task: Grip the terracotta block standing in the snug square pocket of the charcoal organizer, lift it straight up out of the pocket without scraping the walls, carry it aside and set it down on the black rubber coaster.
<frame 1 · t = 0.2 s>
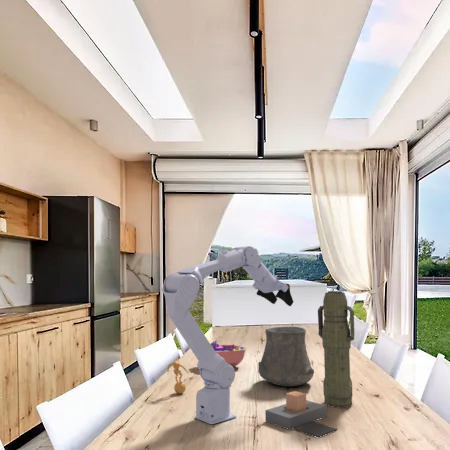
hand: (283, 302, 150), 31 cm above the table, tool tilted 45°, fingers open, 7 cm apart
cell model: (223, 368, 194), on the table
thermos: (337, 403, 142), on the table
vessel: (288, 384, 166), on the table
coaster: (315, 429, 119), on the table
figurine: (178, 394, 153), on the table
terracotta block: (296, 419, 128), resting in organizer
organizer: (296, 418, 128), on the table
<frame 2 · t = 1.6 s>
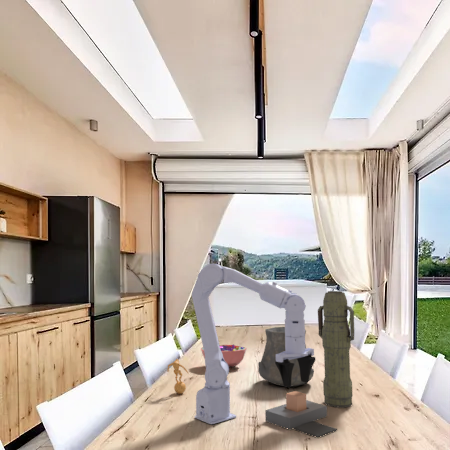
hand: (296, 384, 129), 10 cm above the table, tool pointing down, fingers open, 7 cm apart
nothing on the table moved.
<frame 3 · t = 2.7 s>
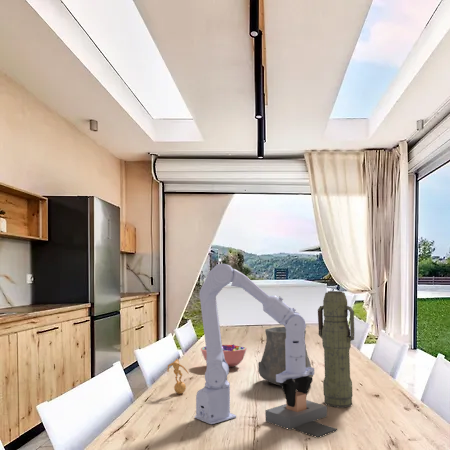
hand: (296, 404, 128), 4 cm above the table, tool pointing down, fingers closed on terracotta block, 4 cm apart
terracotta block: (296, 418, 128), resting in organizer, touching gripper
everything else where it was.
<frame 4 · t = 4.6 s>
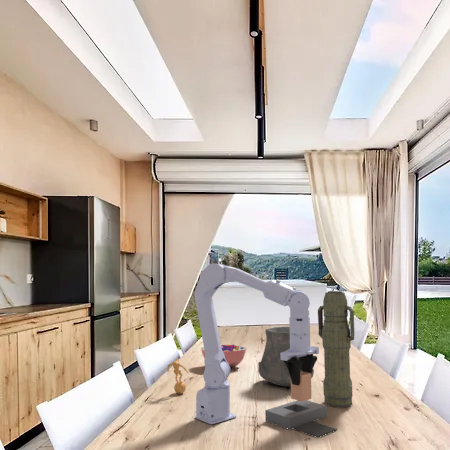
hand: (301, 383, 126), 10 cm above the table, tool pointing down, fingers closed on terracotta block, 4 cm apart
terracotta block: (301, 398, 126), point 6 cm above the table, touching gripper
everything else where it was.
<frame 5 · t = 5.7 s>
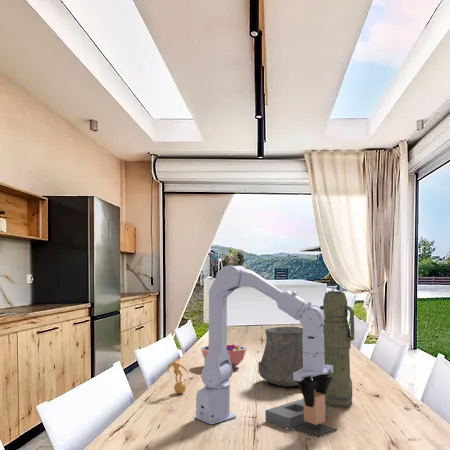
hand: (314, 404, 120), 7 cm above the table, tool pointing down, fingers closed on terracotta block, 4 cm apart
terracotta block: (314, 420, 119), point 2 cm above the table, touching gripper
everything else where it was.
when the fingers open (5 cm above the table, at t = 6.4 s): terracotta block stays where it is, resting on coaster.
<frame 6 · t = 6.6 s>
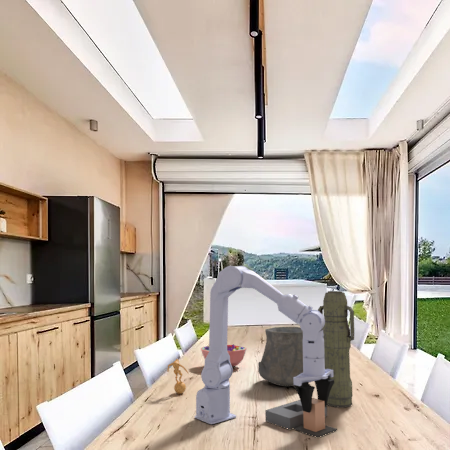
hand: (314, 408, 120), 5 cm above the table, tool pointing down, fingers open, 6 cm apart
terracotta block: (314, 428, 119), resting on coaster
everything else where it was.
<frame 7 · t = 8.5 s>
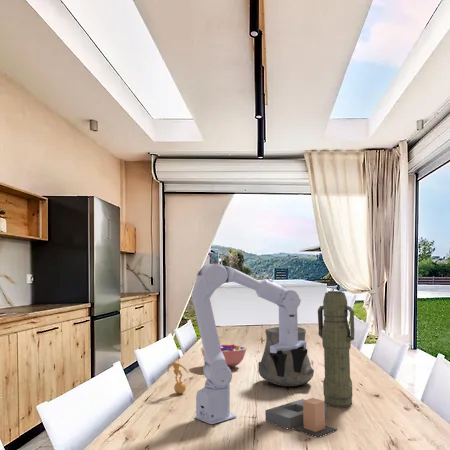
hand: (289, 374, 137), 10 cm above the table, tool pointing down, fingers open, 7 cm apart
nothing on the table moved.
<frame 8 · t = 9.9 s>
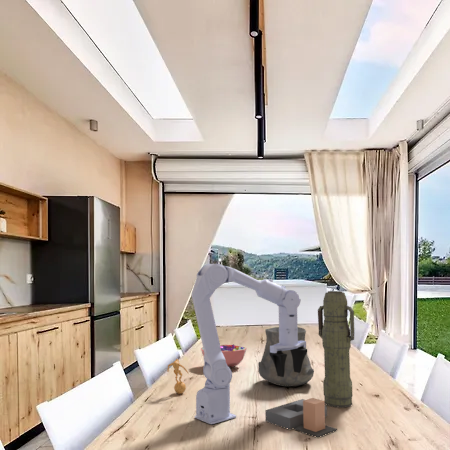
hand: (289, 374, 137), 10 cm above the table, tool pointing down, fingers open, 7 cm apart
nothing on the table moved.
at the end: terracotta block inside the target area on the coaster (0.3 cm from its centre), point 0.4 cm above the coaster's base; terracotta block tilted 0°; terracotta block touching coaster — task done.
